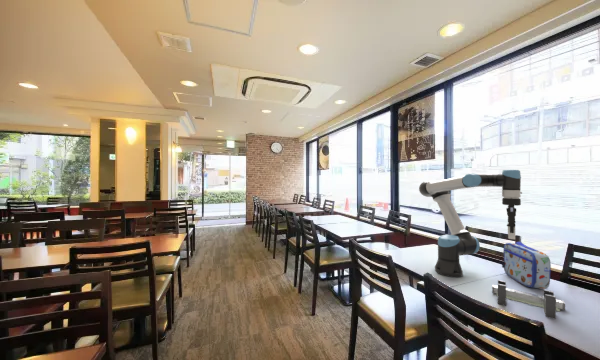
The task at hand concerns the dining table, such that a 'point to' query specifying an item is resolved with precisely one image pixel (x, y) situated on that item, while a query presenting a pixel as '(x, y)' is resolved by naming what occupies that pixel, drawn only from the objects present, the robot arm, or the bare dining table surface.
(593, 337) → the dining table surface
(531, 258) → the lunch box
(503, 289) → the post left
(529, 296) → the rail
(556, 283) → the dining table surface
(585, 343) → the dining table surface
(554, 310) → the post right
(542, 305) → the mat
